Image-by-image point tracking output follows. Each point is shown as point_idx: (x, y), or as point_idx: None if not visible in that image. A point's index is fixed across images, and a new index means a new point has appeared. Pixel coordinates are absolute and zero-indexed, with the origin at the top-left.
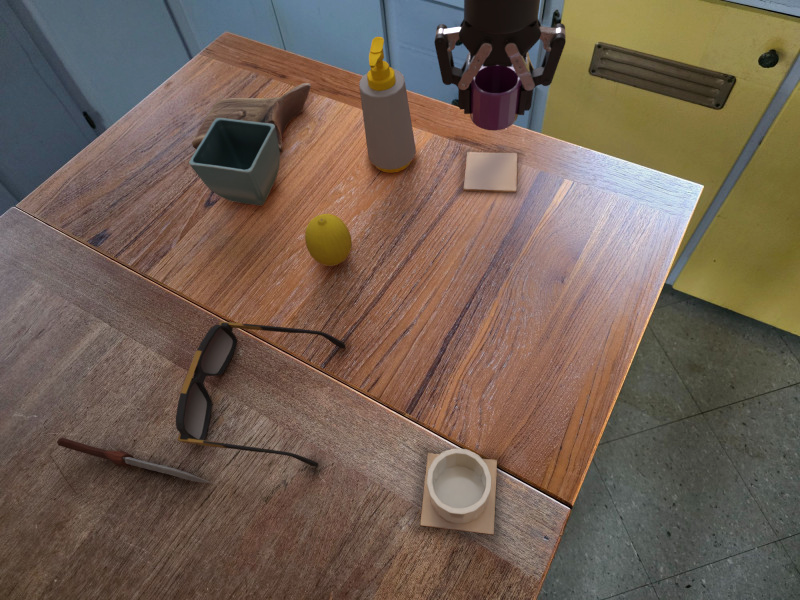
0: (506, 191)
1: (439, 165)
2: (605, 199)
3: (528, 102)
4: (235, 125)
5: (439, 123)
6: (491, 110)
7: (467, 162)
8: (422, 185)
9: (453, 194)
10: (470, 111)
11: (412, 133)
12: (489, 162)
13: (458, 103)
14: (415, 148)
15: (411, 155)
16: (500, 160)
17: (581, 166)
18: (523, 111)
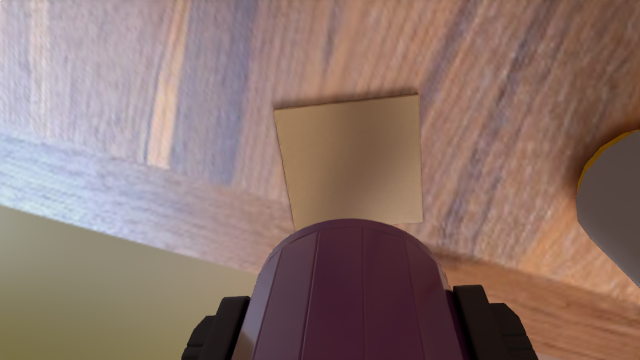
0: (298, 106)
1: (495, 172)
2: (57, 119)
3: (197, 348)
4: None
5: (502, 301)
6: (350, 289)
7: (418, 188)
8: (543, 94)
9: (446, 74)
10: (452, 297)
11: (622, 236)
12: (359, 195)
13: (523, 327)
14: (579, 208)
15: (597, 177)
16: (332, 204)
17: (142, 210)
18: (222, 309)
